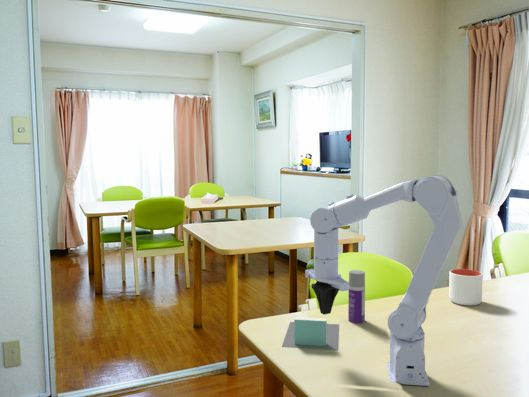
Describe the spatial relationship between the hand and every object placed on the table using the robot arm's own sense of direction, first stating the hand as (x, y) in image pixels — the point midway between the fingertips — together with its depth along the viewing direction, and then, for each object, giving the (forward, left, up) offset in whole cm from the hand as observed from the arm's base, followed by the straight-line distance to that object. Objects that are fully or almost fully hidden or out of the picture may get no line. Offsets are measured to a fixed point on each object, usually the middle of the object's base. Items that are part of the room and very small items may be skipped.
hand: (325, 313), depth 109 cm
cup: (+49, -44, -11) cm, 67 cm away
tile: (+5, +4, -10) cm, 12 cm away
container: (+24, -8, -11) cm, 28 cm away
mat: (+11, +4, -11) cm, 16 cm away
